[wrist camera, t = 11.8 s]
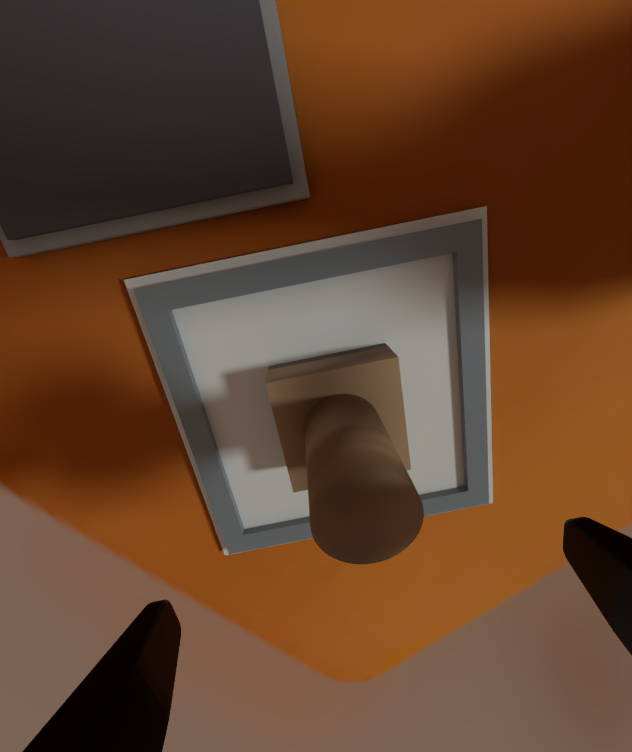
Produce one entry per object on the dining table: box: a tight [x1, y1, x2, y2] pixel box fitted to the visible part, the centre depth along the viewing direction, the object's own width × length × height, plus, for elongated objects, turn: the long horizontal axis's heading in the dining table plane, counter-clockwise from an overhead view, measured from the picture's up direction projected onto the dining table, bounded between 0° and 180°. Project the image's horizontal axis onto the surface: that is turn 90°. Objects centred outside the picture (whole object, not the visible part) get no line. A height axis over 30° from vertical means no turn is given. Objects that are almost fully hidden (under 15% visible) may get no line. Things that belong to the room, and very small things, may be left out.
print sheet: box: [124, 206, 493, 555], centre depth 16 cm, size 14×14×1 cm
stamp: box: [265, 343, 424, 564], centre depth 13 cm, size 5×5×7 cm
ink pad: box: [0, 0, 310, 258], centre depth 11 cm, size 11×11×1 cm
